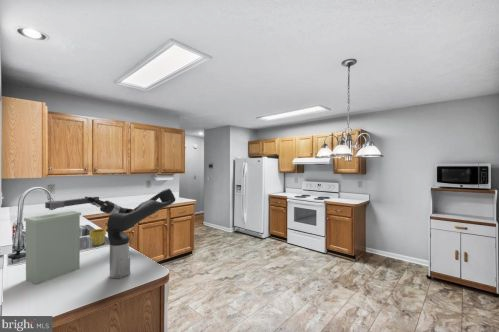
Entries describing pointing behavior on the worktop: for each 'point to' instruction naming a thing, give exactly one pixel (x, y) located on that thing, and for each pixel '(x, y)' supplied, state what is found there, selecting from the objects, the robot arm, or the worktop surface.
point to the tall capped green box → (52, 245)
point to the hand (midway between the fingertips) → (86, 198)
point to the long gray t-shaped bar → (67, 203)
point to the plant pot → (98, 236)
